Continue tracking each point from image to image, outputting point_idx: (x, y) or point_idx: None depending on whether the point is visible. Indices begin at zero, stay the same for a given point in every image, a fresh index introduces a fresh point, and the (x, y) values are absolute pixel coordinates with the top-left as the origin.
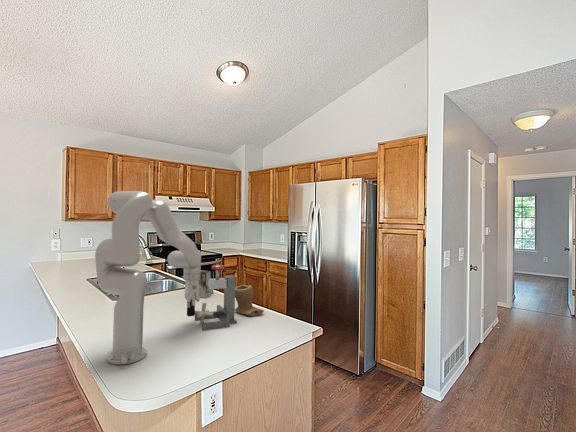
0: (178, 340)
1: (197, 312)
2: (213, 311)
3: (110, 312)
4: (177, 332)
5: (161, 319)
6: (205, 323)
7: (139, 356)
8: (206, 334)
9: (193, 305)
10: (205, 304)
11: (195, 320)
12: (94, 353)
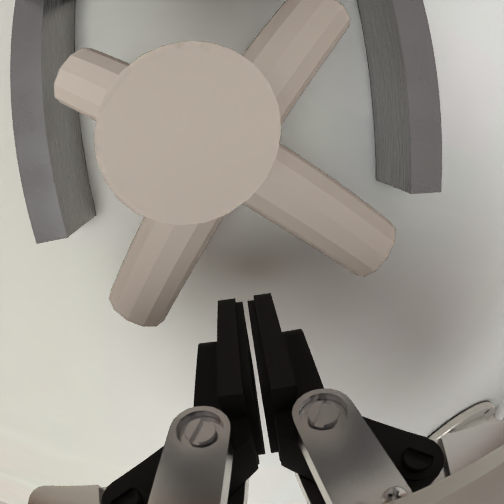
0: (454, 334)
1: (198, 253)
2: (13, 24)
3: (34, 486)
4: (345, 354)
5: (69, 415)
6: (432, 158)
7: (491, 412)
8: (466, 166)
9: (490, 436)
10: (263, 93)
11: (93, 214)
12: None
